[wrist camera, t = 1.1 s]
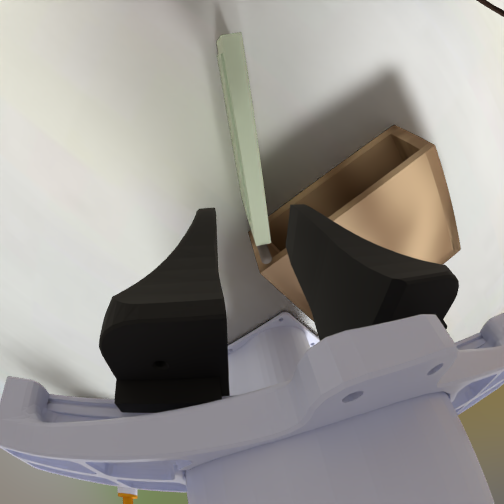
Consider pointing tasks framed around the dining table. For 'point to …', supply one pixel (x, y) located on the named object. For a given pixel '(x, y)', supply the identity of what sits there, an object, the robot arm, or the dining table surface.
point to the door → (243, 133)
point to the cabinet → (373, 207)
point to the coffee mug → (492, 7)
